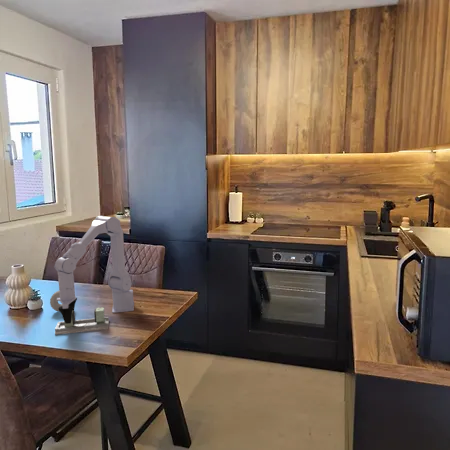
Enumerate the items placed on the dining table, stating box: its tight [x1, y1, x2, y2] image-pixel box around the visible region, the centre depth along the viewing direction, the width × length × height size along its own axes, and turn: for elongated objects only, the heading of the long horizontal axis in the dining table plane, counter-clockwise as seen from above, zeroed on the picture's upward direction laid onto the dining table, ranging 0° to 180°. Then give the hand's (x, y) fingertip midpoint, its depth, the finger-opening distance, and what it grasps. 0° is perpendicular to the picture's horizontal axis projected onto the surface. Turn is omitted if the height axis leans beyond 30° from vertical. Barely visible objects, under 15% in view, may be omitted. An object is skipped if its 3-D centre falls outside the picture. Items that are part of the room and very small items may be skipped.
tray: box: [54, 306, 110, 335], centre depth 163 cm, size 20×9×7 cm, turn 104°
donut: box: [49, 290, 62, 313], centre depth 181 cm, size 10×4×10 cm, turn 121°
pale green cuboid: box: [65, 310, 76, 327], centre depth 162 cm, size 4×4×6 cm
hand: (69, 319), depth 162 cm, fingers open, 7 cm apart
